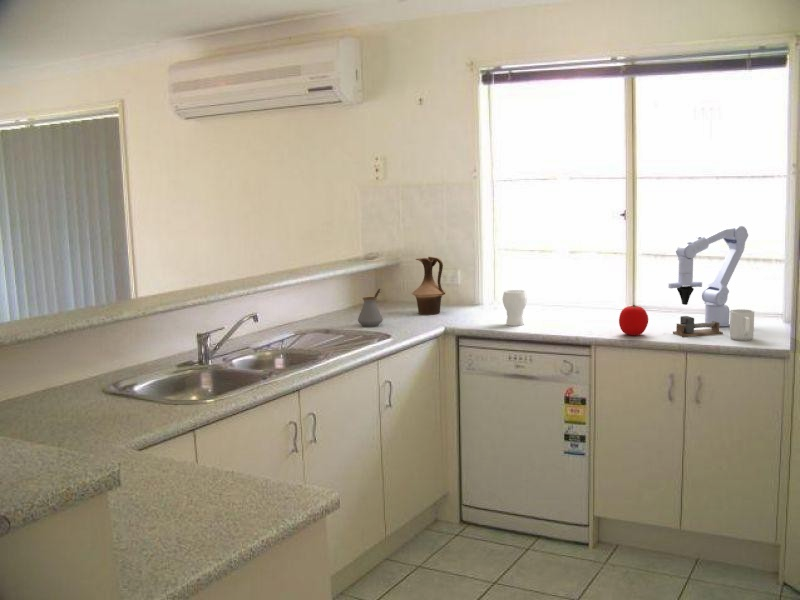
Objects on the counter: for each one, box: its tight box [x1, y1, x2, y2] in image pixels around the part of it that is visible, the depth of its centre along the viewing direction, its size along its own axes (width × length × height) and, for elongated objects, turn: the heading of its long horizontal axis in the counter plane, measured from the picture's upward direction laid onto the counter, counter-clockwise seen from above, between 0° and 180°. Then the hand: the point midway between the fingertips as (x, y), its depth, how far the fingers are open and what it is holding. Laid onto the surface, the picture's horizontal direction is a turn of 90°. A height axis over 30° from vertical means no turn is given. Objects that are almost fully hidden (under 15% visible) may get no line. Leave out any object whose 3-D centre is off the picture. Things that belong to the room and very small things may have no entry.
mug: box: [729, 308, 755, 341], centre depth 337 cm, size 12×9×11 cm
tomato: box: [618, 304, 649, 336], centre depth 352 cm, size 12×12×13 cm
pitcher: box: [411, 256, 447, 316], centre depth 417 cm, size 18×17×28 cm
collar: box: [679, 315, 695, 333], centre depth 349 cm, size 3×5×6 cm, turn 12°
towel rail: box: [672, 321, 724, 338], centre depth 351 cm, size 18×8×4 cm, turn 102°
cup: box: [502, 289, 528, 327], centre depth 382 cm, size 11×11×15 cm
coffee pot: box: [357, 288, 384, 328], centre depth 394 cm, size 21×12×15 cm, turn 163°
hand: (684, 304), depth 361 cm, fingers closed
